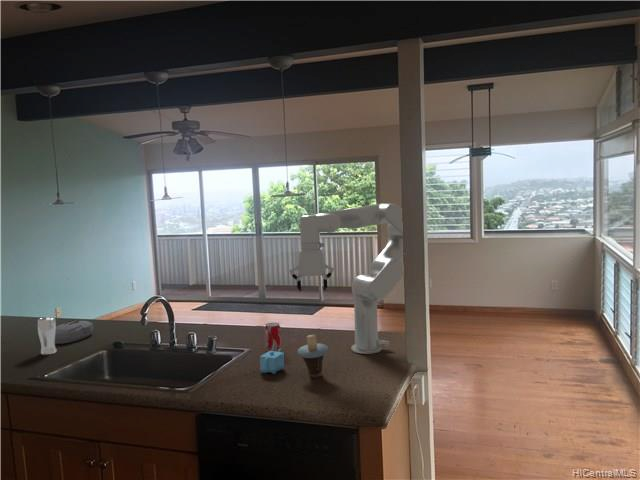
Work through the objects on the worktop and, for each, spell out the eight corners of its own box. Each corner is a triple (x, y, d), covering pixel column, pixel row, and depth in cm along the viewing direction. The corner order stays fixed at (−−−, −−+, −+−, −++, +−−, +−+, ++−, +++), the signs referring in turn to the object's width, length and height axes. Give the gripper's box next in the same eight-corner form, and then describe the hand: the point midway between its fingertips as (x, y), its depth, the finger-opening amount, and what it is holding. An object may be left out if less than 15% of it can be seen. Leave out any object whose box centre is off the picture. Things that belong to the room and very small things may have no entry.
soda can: (279, 355, 205) (278, 326, 204) (262, 354, 207) (261, 326, 206) (283, 350, 212) (282, 322, 211) (267, 349, 214) (266, 321, 213)
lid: (325, 343, 185) (323, 328, 184) (331, 354, 174) (329, 339, 173) (295, 348, 183) (293, 333, 182) (300, 360, 173) (298, 344, 172)
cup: (298, 379, 177) (297, 354, 176) (307, 371, 185) (306, 347, 184) (320, 382, 174) (319, 356, 173) (328, 374, 182) (327, 349, 181)
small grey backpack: (73, 333, 250) (41, 344, 231) (72, 316, 249) (40, 326, 230) (98, 334, 246) (68, 346, 227) (97, 317, 245) (67, 328, 226)
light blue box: (274, 364, 194) (273, 345, 194) (288, 366, 192) (287, 347, 191) (258, 374, 183) (257, 354, 183) (272, 376, 181) (272, 356, 180)
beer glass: (61, 351, 219) (59, 317, 217) (46, 356, 212) (44, 321, 211) (50, 349, 221) (48, 316, 220) (35, 354, 215) (33, 319, 214)
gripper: (332, 244, 199) (333, 287, 200) (288, 246, 198) (290, 289, 200) (333, 246, 191) (335, 291, 193) (288, 248, 191) (290, 293, 192)
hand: (312, 290), depth 196 cm, fingers open, 9 cm apart
